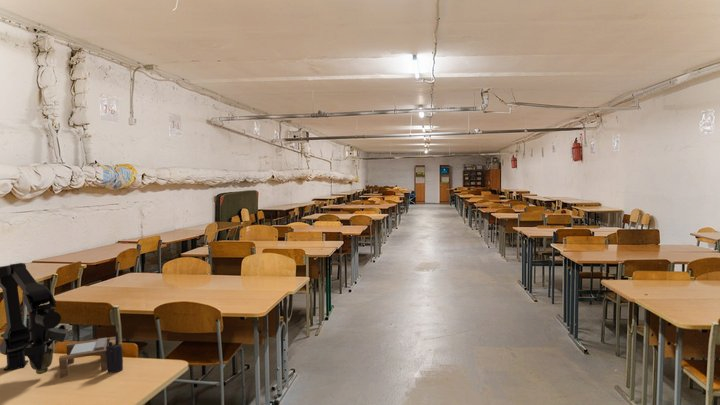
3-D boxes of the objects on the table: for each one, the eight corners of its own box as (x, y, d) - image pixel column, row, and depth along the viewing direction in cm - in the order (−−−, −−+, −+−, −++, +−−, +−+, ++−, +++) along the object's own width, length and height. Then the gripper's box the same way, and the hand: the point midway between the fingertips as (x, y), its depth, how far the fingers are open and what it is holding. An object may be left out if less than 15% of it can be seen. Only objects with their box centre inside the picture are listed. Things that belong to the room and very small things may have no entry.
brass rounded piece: (41, 377, 158) (39, 355, 157) (24, 376, 159) (22, 354, 159) (59, 369, 165) (58, 347, 164) (42, 367, 166) (41, 346, 166)
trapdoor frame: (68, 362, 176) (67, 343, 176) (117, 354, 183) (116, 336, 183) (60, 378, 162) (58, 357, 161) (113, 369, 169) (112, 349, 168)
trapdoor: (75, 348, 175) (75, 342, 175) (107, 343, 179) (107, 337, 179) (70, 358, 165) (69, 351, 165) (104, 352, 169) (103, 346, 169)
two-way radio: (123, 367, 170) (121, 329, 169) (124, 371, 166) (122, 332, 165) (106, 371, 167) (104, 332, 166) (107, 375, 163) (105, 335, 162)
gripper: (60, 327, 156) (62, 371, 157) (70, 313, 173) (72, 352, 174) (21, 332, 151) (24, 377, 152) (35, 317, 168) (37, 358, 169)
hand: (41, 365), depth 162 cm, fingers closed on brass rounded piece, 7 cm apart
